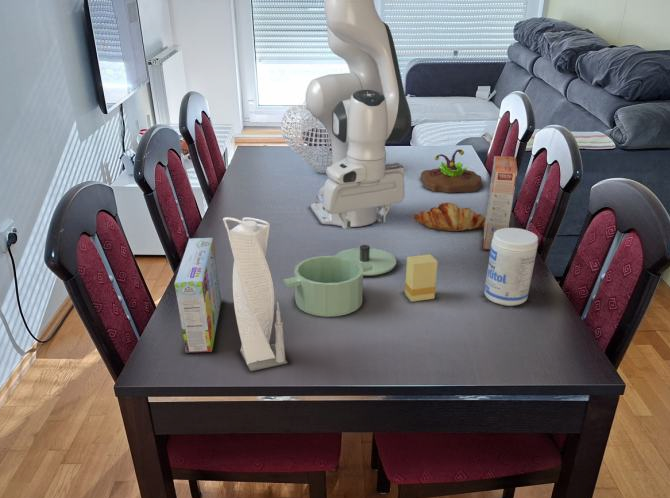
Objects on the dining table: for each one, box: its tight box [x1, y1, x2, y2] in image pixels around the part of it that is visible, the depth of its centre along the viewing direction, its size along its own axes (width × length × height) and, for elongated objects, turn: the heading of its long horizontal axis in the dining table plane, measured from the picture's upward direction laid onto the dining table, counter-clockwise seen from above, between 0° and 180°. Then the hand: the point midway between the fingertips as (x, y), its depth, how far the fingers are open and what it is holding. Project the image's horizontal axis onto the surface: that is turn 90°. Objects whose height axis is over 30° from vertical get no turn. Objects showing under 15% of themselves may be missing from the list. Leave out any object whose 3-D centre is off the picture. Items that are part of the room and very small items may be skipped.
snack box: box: [173, 237, 222, 354], centre depth 128 cm, size 21×6×15 cm, turn 5°
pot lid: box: [334, 244, 397, 276], centre depth 158 cm, size 16×16×5 cm
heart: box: [280, 104, 332, 174], centre depth 218 cm, size 28×16×22 cm, turn 89°
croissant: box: [413, 202, 486, 232], centre depth 180 cm, size 21×10×8 cm
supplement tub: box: [483, 227, 539, 307], centre depth 141 cm, size 10×10×15 cm
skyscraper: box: [222, 216, 288, 372], centre depth 115 cm, size 8×8×28 cm
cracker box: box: [482, 155, 518, 251], centre depth 167 cm, size 14×6×21 cm, turn 168°
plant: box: [420, 149, 483, 194], centre depth 212 cm, size 20×20×11 cm
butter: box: [404, 253, 439, 303], centre depth 142 cm, size 4×6×9 cm
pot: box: [283, 255, 372, 318], centre depth 140 cm, size 15×20×8 cm
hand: (363, 224), depth 155 cm, fingers open, 8 cm apart
